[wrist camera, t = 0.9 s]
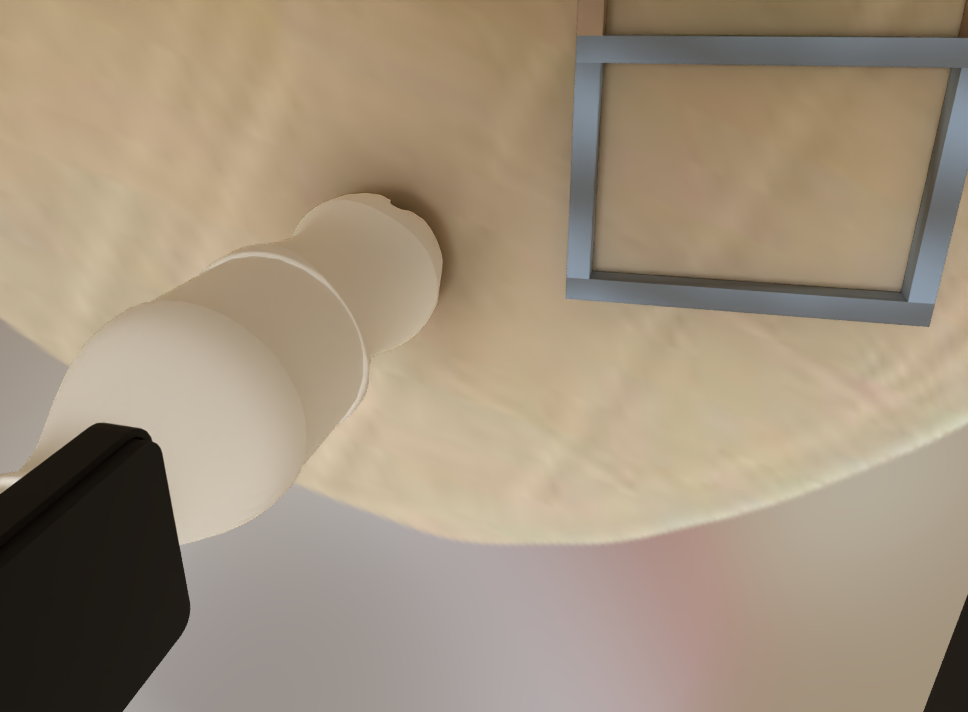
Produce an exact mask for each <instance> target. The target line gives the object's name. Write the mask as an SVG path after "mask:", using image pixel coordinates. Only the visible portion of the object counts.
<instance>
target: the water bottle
mask: <svg viewBox="0 0 968 712" xmlns="http://www.w3.org/2000/svg"><path fill="white" fill-rule="evenodd" d="M390 201H391V200H390V199H387V198H386V197H384V196H382V195H379V194H371V193H359V194H347V195H343V196H340V197H336V198H333V199H331V200H328V201H326V202H324V203H322V204H320V205H318V206H316V207H315V208H313V209H312V210H311V211H309V212H308V213H307V214H306V215H305V216H304V217H303V218H302V220H301V221H300V222H299V224H298V226H297V227H296V229H295V231H294V233H293V236H292V238H290V239H287V240H284V241H280V242H276V243H269V244H255V245H249V246H246V247H243V248H240V249H238V250H235V251H233V252H231V253H230V254H228V255H226V256H224V257H222V258H221V259H219V260H217V261H215V262H214V263H212V264H211V265H209V266H208V267H207V268H206V269H205V270H204V271H202V272H201V273H200V274H199V275H198V276H197V277H195V278H193V279H191V280H189V281H187V282H186V283H184V284H182V285H180V286H178V287H177V288H175V289H173V290H171V291H169V292H167V293H166V294H164V295H162V296H160V297H158V298H157V299H155V300H153V301H151V302H146V303H142V304H140V305H137V306H134V307H132V308H129V309H127V310H125V311H124V312H123V313H121V314H120V315H118V316H117V317H115V318H114V319H112V320H111V321H109V322H108V323H107V324H105V325H104V326H103V327H102V328H101V329H100V330H99V331H97V332H96V333H95V334H94V335H93V336H92V337H91V338H90V340H89V341H88V342H87V343H86V344H85V345H84V346H83V348H82V349H81V351H80V352H79V353H78V355H77V356H76V358H75V359H74V361H73V363H72V364H71V366H70V367H69V369H68V371H67V372H66V375H65V377H64V379H63V381H62V383H61V386H60V388H59V390H58V393H57V395H56V397H55V399H54V402H53V405H52V407H51V410H50V413H49V415H48V418H47V421H46V423H45V426H44V429H43V432H42V435H41V437H40V440H39V442H38V445H37V447H36V448H35V450H34V452H33V453H32V455H31V456H30V458H29V459H28V461H27V463H26V464H25V465H24V466H23V467H22V468H21V469H20V470H19V471H18V472H9V473H4V474H1V475H0V494H1V493H2V492H4V491H5V490H6V489H7V488H9V487H10V486H11V485H13V484H14V483H15V482H17V481H18V480H19V479H21V478H22V477H23V476H25V475H26V474H27V473H29V472H30V471H31V470H33V469H34V468H35V467H37V466H38V465H39V464H41V463H42V462H43V461H45V460H46V459H47V458H49V457H50V456H51V455H53V454H54V453H55V452H57V451H58V450H59V449H61V448H62V447H63V446H64V445H66V444H67V443H68V442H70V441H71V440H72V439H74V438H75V437H76V436H78V435H79V434H80V433H82V432H83V431H84V430H86V429H87V428H88V427H90V426H92V425H94V424H96V423H103V422H104V423H110V424H117V425H123V426H130V427H136V428H141V429H144V430H146V431H147V432H148V433H149V435H150V436H151V438H152V441H153V442H155V443H157V444H158V445H159V446H160V448H161V451H162V454H163V459H164V465H165V470H166V475H167V481H168V486H169V492H170V497H171V503H172V508H173V514H174V519H175V524H176V530H177V535H178V541H179V545H182V544H187V543H191V542H194V541H198V540H201V539H205V538H208V537H212V536H215V535H219V534H222V533H224V532H227V531H229V530H231V529H233V528H236V527H238V526H240V525H242V524H245V523H247V522H249V521H251V520H252V519H254V518H255V517H257V516H258V515H260V514H261V513H263V512H264V511H265V510H267V509H268V508H269V507H271V506H272V505H273V504H274V503H275V502H277V500H278V499H280V497H282V496H283V495H284V493H285V492H287V490H288V489H289V488H291V486H292V485H293V483H294V481H295V480H296V478H297V477H298V475H299V473H300V471H301V468H302V466H303V465H304V464H305V463H306V462H307V461H308V459H309V458H310V457H311V456H312V455H313V453H314V452H315V451H316V450H317V449H318V447H319V446H320V445H321V444H322V443H323V441H324V440H325V439H326V438H327V437H328V435H329V434H330V433H331V432H332V431H333V429H334V428H335V427H337V426H338V425H340V424H341V423H342V422H344V421H345V420H346V419H347V418H348V417H349V416H350V415H351V414H352V413H353V411H354V410H355V409H356V408H357V407H358V405H359V404H360V403H361V401H362V400H363V398H364V396H365V394H366V392H367V388H368V384H369V367H370V361H371V358H372V357H374V356H375V355H377V354H380V353H383V352H386V351H389V350H392V349H394V348H396V347H398V346H400V345H402V344H404V343H405V342H407V341H408V340H410V339H411V338H412V337H414V336H415V335H416V334H417V333H418V332H419V331H420V330H421V329H422V328H423V326H424V325H425V324H426V323H427V321H428V320H429V318H430V317H431V315H432V313H433V311H434V309H435V308H436V306H437V304H438V296H439V287H440V280H441V274H442V264H443V260H442V254H441V250H440V247H439V244H438V242H437V239H436V237H435V235H434V233H433V232H432V230H431V229H430V227H429V226H428V224H427V223H426V222H425V220H424V219H422V218H421V217H419V216H418V215H416V214H415V213H413V212H411V211H409V210H402V209H399V208H397V207H395V206H393V205H392V204H390Z"/></svg>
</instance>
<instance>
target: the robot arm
mask: <svg viewBox="0 0 968 712" xmlns="http://www.w3.org/2000/svg"><path fill="white" fill-rule="evenodd" d="M189 615H190V601H189V595H188V590H187V584H186V579H185V573H184V568H183V563H182V557H181V552H180V546H179V541H178V535H177V530H176V524H175V519H174V514H173V508H172V503H171V497H170V492H169V486H168V481H167V475H166V470H165V465H164V459H163V454H162V451H161V448H160V446H159V445H158V444H157V443H155V442H153V441H152V438H151V436H150V435H149V433H148V432H147V431H146V430H144V429H141V428H136V427H130V426H123V425H117V424H110V423H104V422H103V423H96V424H94V425H92V426H90V427H88V428H87V429H86V430H84V431H83V432H82V433H80V434H79V435H78V436H76V437H75V438H74V439H72V440H71V441H70V442H68V443H67V444H66V445H64V446H63V447H62V448H61V449H59V450H58V451H57V452H55V453H54V454H53V455H51V456H50V457H49V458H47V459H46V460H45V461H43V462H42V463H41V464H39V465H38V466H37V467H35V468H34V469H33V470H31V471H30V472H29V473H27V474H26V475H25V476H23V477H22V478H21V479H19V480H18V481H17V482H15V483H14V484H13V485H11V486H10V487H9V488H7V489H6V490H5V491H4V492H2V493H1V494H0V712H123V710H124V709H125V708H126V706H127V705H128V704H129V702H130V701H131V700H132V699H133V697H134V696H135V695H136V693H137V692H138V690H139V689H140V688H141V687H142V685H143V684H144V683H145V681H146V680H147V679H148V678H149V677H150V675H151V674H152V673H153V671H154V670H155V669H156V667H157V666H158V665H159V664H160V662H161V661H162V660H163V658H164V657H165V656H166V654H167V653H168V652H169V650H170V649H171V648H172V646H173V645H174V644H175V642H176V641H177V640H178V639H179V637H180V636H181V635H182V633H183V631H184V630H185V627H186V625H187V623H188V619H189ZM923 712H968V596H967V598H966V601H965V604H964V606H963V609H962V611H961V614H960V617H959V620H958V622H957V625H956V627H955V630H954V632H953V635H952V638H951V640H950V643H949V646H948V648H947V651H946V653H945V656H944V659H943V661H942V664H941V667H940V669H939V672H938V675H937V677H936V680H935V682H934V685H933V688H932V690H931V693H930V696H929V698H928V701H927V704H926V706H925V709H924V711H923Z"/></svg>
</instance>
